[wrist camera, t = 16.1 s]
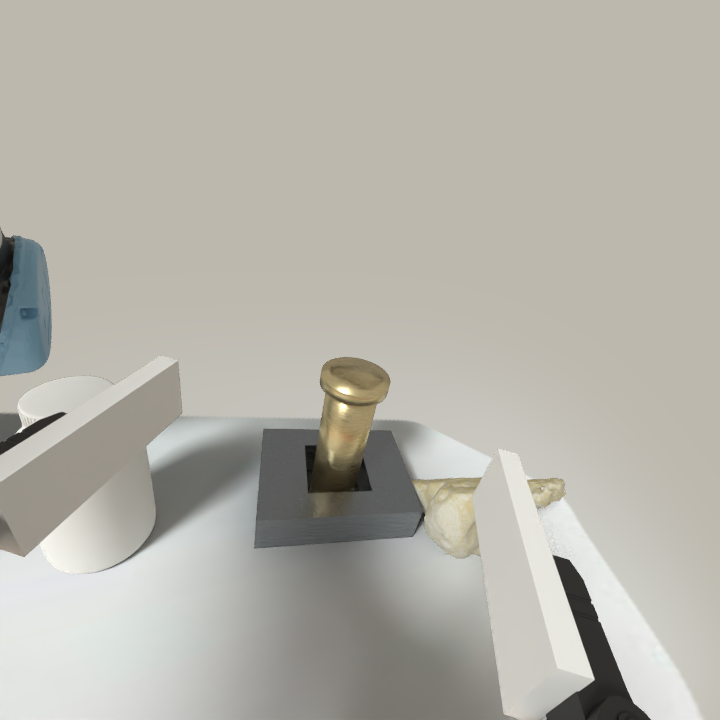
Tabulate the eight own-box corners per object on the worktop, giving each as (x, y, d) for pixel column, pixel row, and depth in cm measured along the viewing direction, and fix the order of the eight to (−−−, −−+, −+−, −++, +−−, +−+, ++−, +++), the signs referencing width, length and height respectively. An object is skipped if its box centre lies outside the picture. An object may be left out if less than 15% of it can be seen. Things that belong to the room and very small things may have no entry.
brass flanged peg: (292, 501, 36) (308, 377, 29) (319, 463, 42) (338, 351, 34) (345, 527, 35) (378, 404, 27) (366, 484, 40) (397, 371, 33)
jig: (254, 548, 31) (256, 520, 29) (261, 453, 41) (263, 429, 39) (412, 536, 35) (423, 511, 33) (383, 453, 45) (390, 430, 43)
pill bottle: (140, 481, 35) (119, 356, 28) (170, 538, 30) (153, 407, 23) (38, 524, 29) (-21, 382, 22) (55, 601, 25) (-11, 454, 18)
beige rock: (381, 561, 34) (537, 601, 24) (375, 486, 36) (518, 493, 26) (454, 527, 45) (583, 544, 35) (447, 470, 47) (568, 471, 37)
